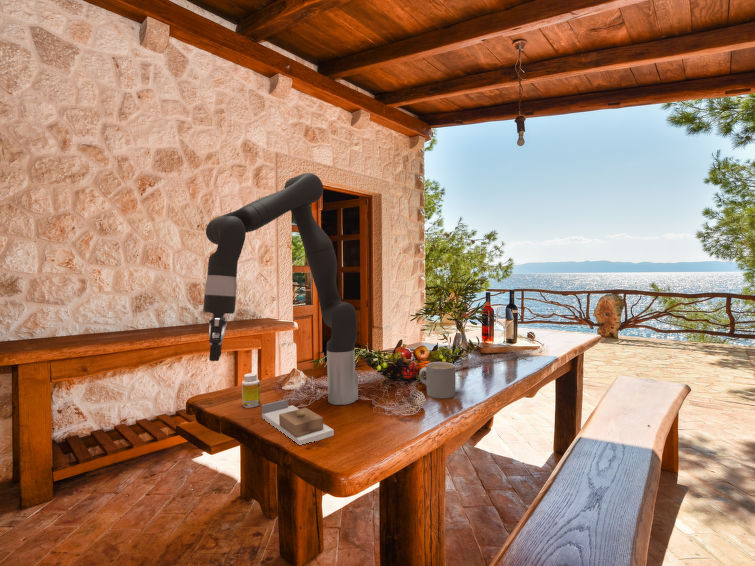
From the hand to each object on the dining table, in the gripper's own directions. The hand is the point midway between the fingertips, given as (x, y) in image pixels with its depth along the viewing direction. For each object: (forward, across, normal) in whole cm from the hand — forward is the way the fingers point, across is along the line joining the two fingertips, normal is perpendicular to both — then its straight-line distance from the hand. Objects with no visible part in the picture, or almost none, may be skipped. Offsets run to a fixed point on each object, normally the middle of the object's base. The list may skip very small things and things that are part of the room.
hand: (215, 358), depth 99 cm
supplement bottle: (+19, +30, -11) cm, 37 cm away
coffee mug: (+13, +18, -72) cm, 76 cm away
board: (+20, +7, -22) cm, 30 cm away
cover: (+18, +1, -23) cm, 29 cm away
